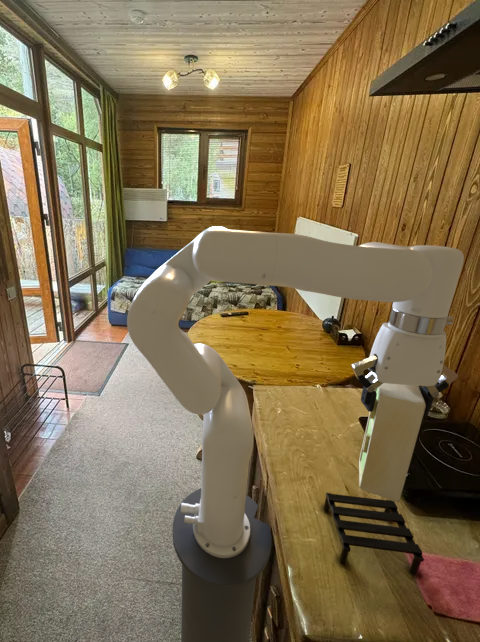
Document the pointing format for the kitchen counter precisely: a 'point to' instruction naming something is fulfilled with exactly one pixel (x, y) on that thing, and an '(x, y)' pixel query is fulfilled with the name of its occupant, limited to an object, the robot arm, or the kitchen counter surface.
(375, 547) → the rack
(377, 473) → the toy refrigerator
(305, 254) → the robot arm
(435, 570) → the kitchen counter surface
